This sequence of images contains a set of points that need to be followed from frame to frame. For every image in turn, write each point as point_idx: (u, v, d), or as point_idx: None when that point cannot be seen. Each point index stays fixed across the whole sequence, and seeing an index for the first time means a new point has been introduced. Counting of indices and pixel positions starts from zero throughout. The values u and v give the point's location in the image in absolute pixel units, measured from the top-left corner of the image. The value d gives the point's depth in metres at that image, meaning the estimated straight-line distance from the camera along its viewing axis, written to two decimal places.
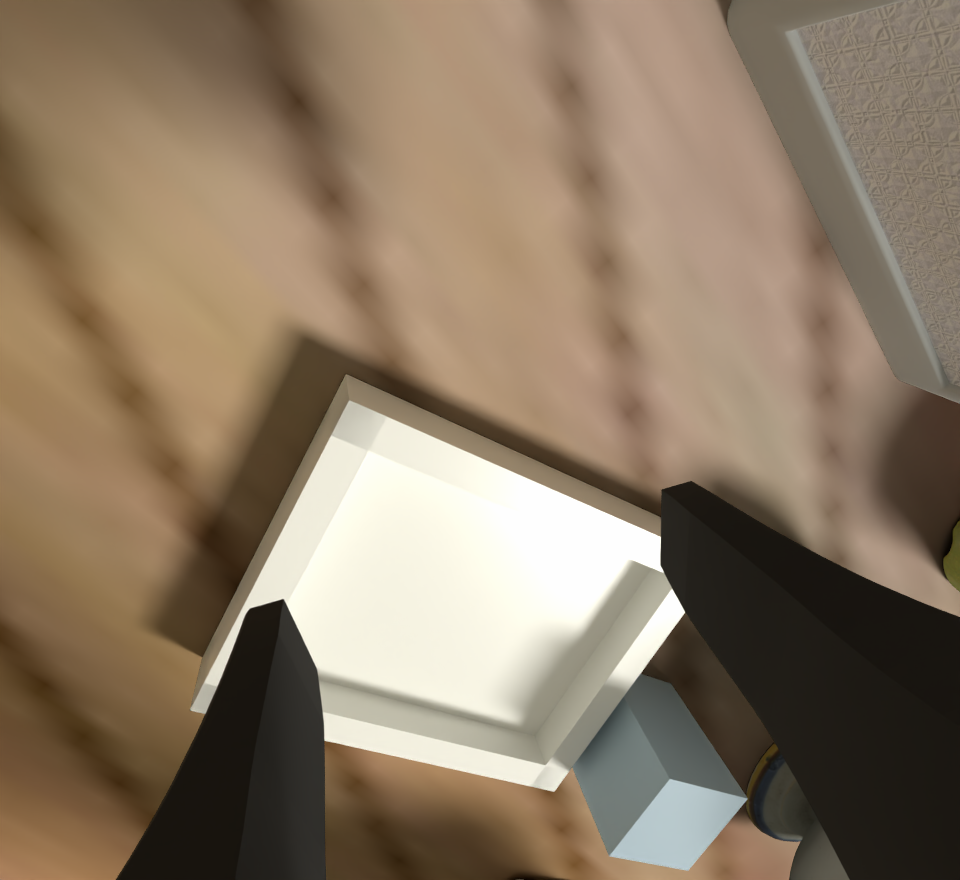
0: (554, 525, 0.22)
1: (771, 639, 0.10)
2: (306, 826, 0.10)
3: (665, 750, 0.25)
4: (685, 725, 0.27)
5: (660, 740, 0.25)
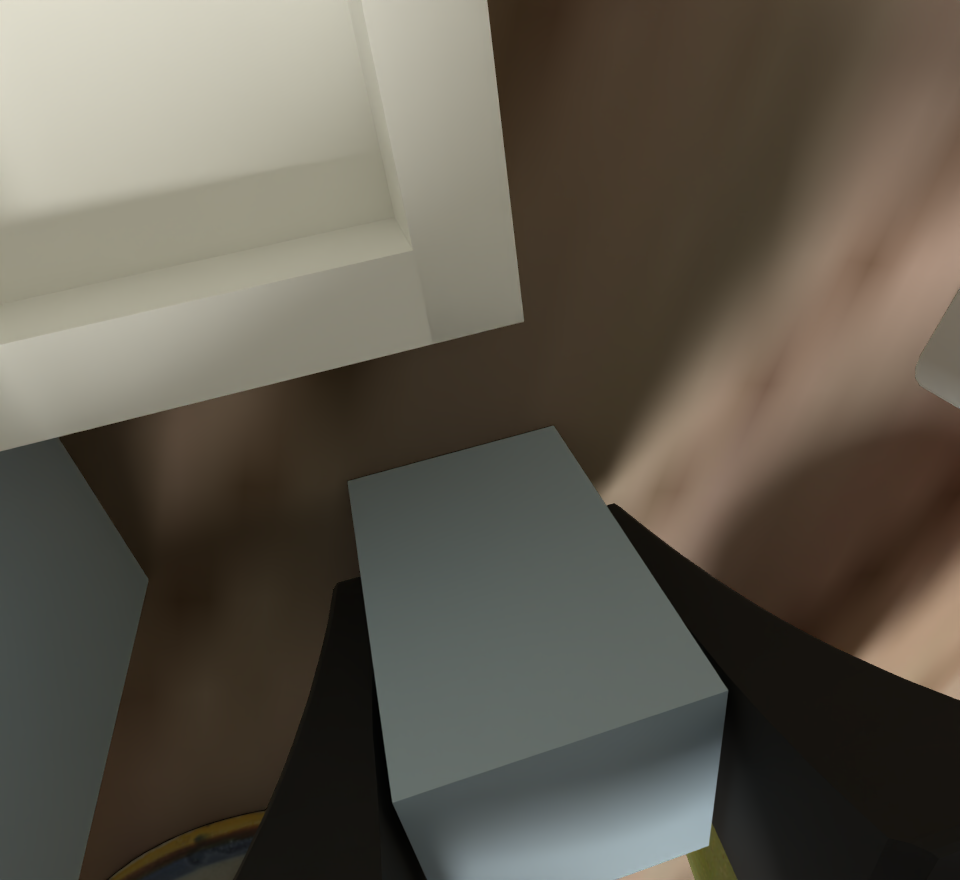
0: None
1: None
2: None
3: None
4: (87, 666, 0.09)
5: None
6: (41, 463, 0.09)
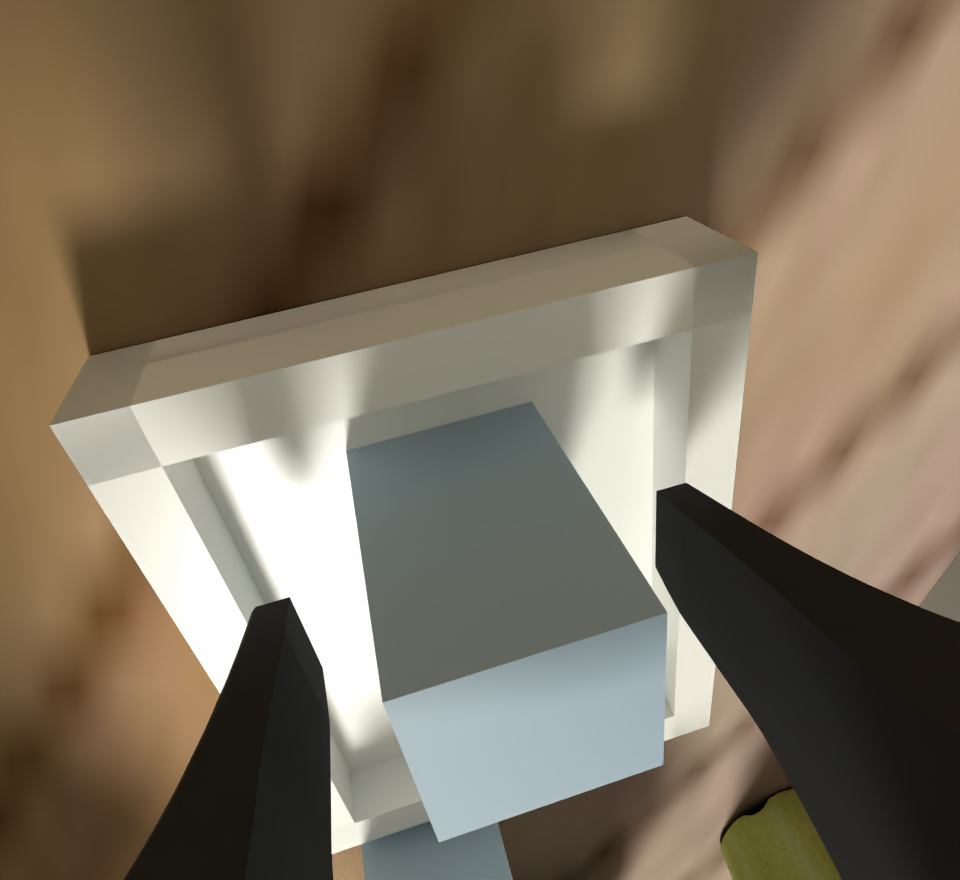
0: None
1: (765, 641, 0.10)
2: (313, 824, 0.10)
3: None
4: None
5: None
6: None
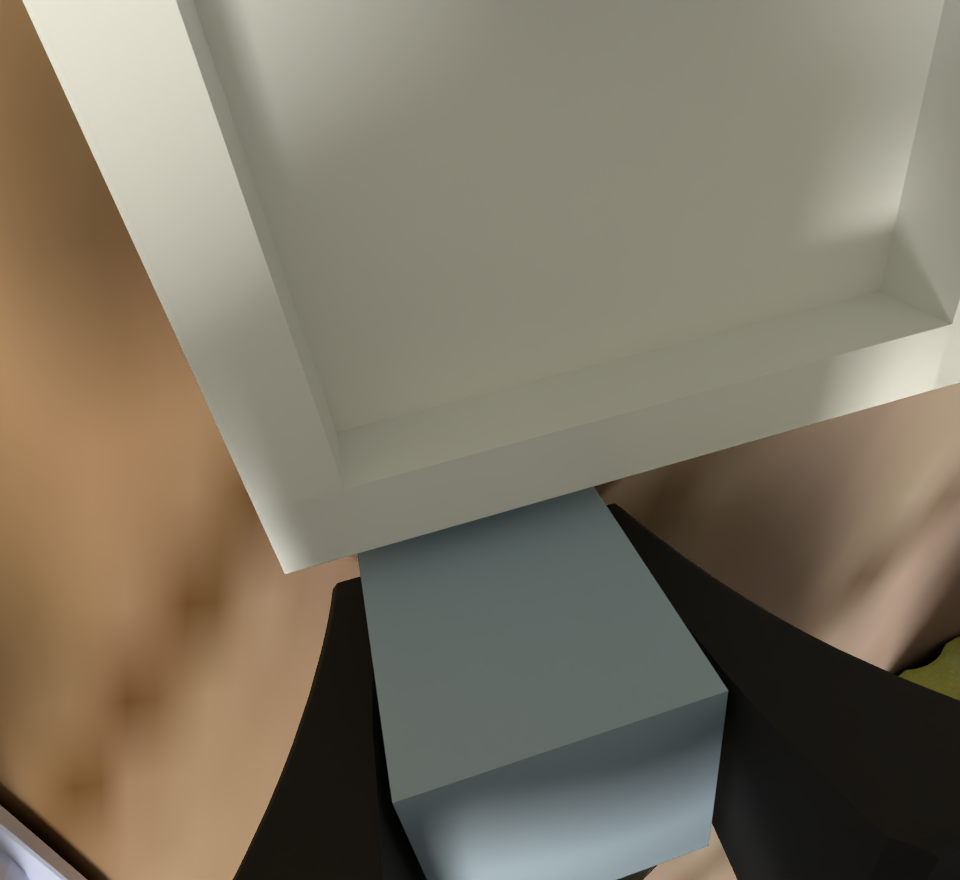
0: None
1: None
2: None
3: None
4: None
5: None
6: None
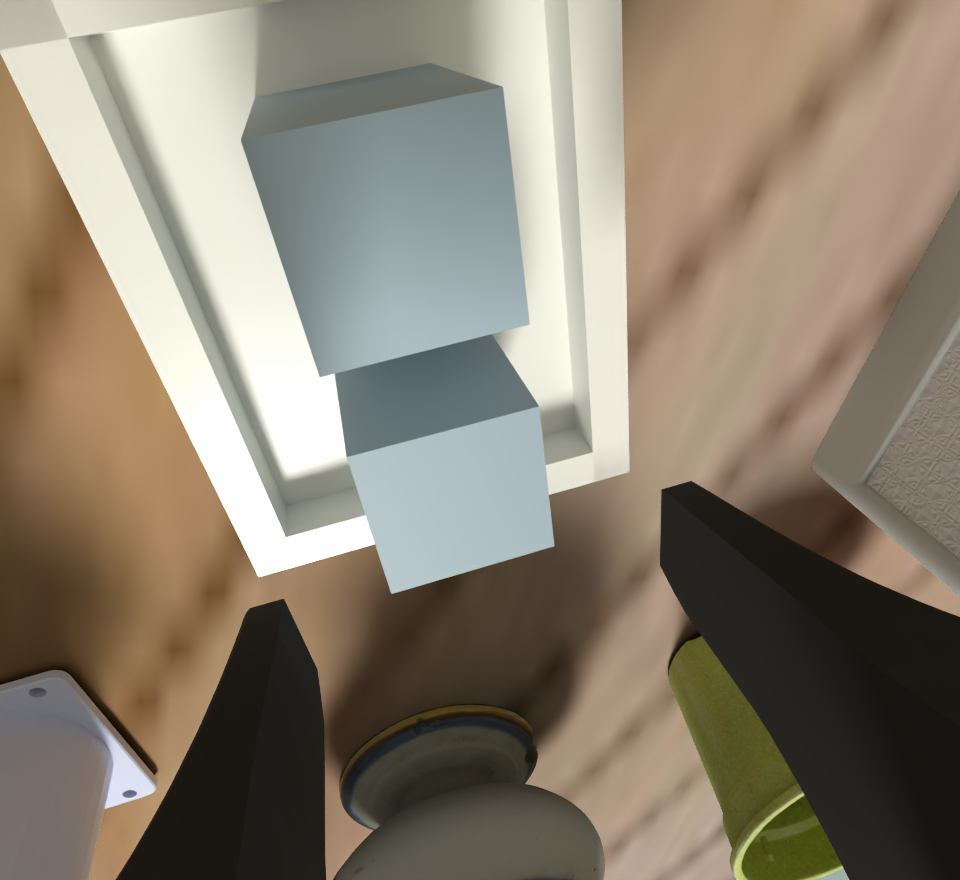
0: (586, 274, 0.17)
1: (771, 640, 0.10)
2: (306, 826, 0.10)
3: None
4: None
5: None
6: None
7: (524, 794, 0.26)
